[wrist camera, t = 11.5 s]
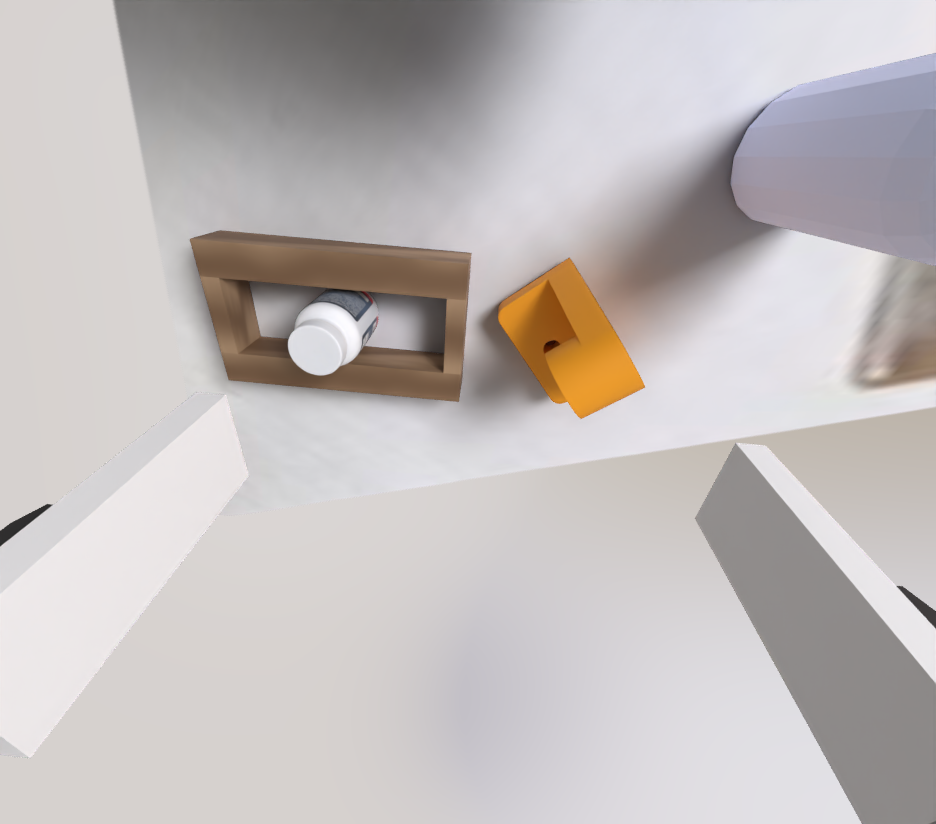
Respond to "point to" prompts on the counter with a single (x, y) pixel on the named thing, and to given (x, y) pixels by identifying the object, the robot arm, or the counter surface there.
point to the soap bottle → (848, 160)
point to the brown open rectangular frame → (340, 267)
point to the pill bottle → (332, 330)
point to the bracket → (569, 341)
